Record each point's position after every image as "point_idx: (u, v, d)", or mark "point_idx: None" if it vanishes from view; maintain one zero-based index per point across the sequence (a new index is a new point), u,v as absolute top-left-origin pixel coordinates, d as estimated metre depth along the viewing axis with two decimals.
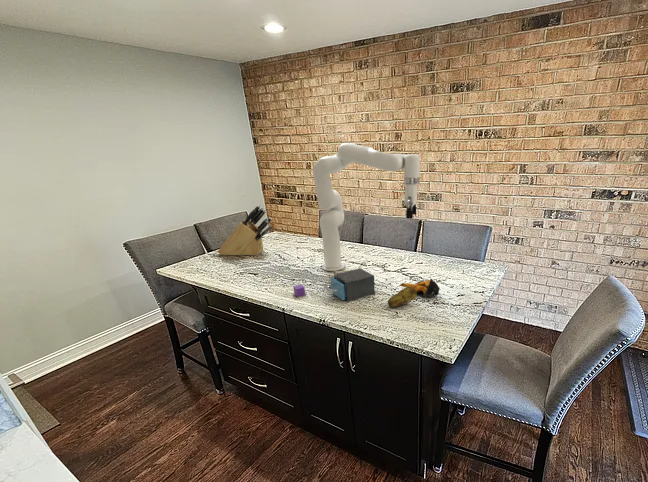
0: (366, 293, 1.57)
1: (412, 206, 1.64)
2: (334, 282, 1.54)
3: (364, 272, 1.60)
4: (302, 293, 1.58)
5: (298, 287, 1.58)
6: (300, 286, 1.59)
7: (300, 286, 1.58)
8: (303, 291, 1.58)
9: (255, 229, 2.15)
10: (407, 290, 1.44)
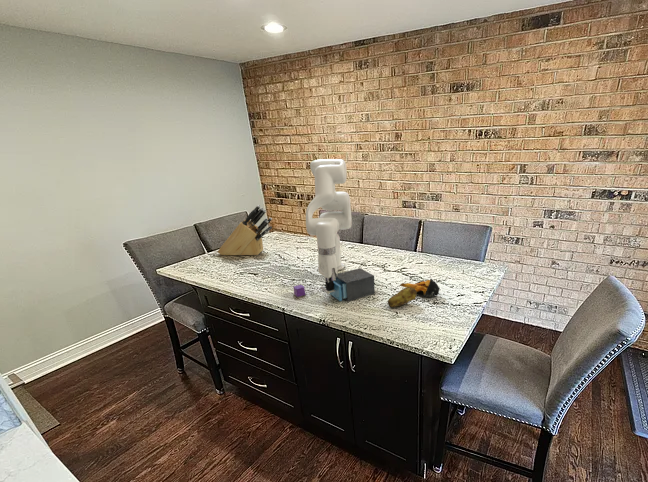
0: (366, 293, 1.57)
1: None
2: None
3: (364, 272, 1.60)
4: (302, 293, 1.58)
5: (298, 287, 1.58)
6: (300, 286, 1.59)
7: (300, 286, 1.58)
8: (303, 291, 1.58)
9: (255, 229, 2.15)
10: (407, 290, 1.44)
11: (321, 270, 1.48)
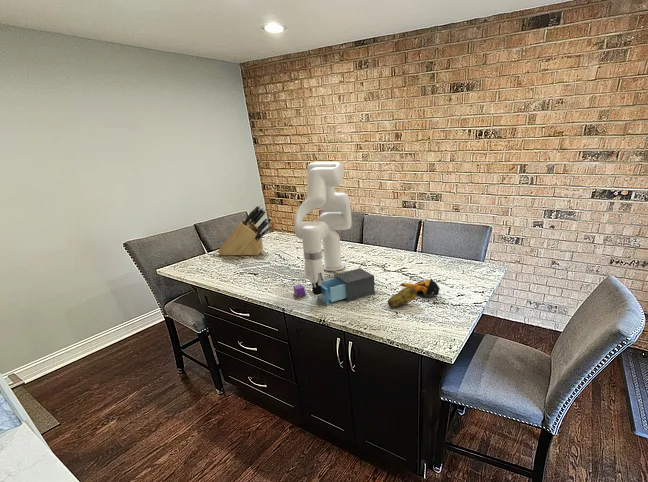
0: (366, 293, 1.57)
1: None
2: None
3: (364, 272, 1.60)
4: (302, 293, 1.58)
5: (298, 287, 1.58)
6: (300, 286, 1.59)
7: (300, 286, 1.58)
8: (303, 291, 1.58)
9: (255, 229, 2.15)
10: (407, 290, 1.44)
11: (308, 275, 1.45)
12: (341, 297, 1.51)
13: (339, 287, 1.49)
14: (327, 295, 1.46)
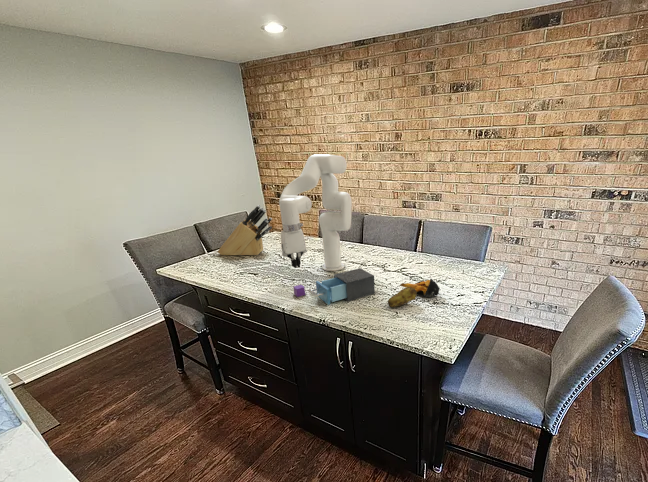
0: (366, 293, 1.57)
1: (292, 255, 1.50)
2: (319, 286, 1.50)
3: (364, 272, 1.60)
4: (302, 293, 1.58)
5: (298, 287, 1.58)
6: (300, 286, 1.59)
7: (300, 286, 1.58)
8: (303, 291, 1.58)
9: (255, 229, 2.15)
10: (407, 290, 1.44)
11: None
12: (342, 297, 1.51)
13: (340, 287, 1.49)
14: (328, 295, 1.46)
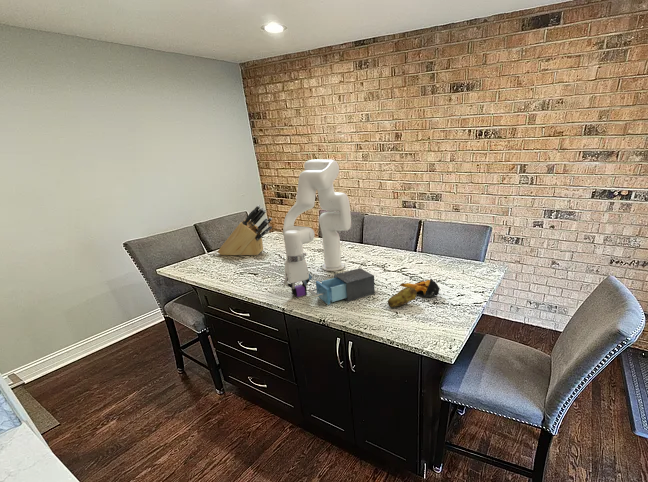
0: (366, 293, 1.57)
1: (294, 284, 1.55)
2: (319, 286, 1.50)
3: (364, 272, 1.60)
4: (302, 293, 1.58)
5: (298, 287, 1.58)
6: (300, 286, 1.59)
7: (300, 286, 1.58)
8: (303, 291, 1.58)
9: (255, 229, 2.15)
10: (407, 290, 1.44)
11: None
12: (342, 297, 1.51)
13: (340, 287, 1.49)
14: (328, 295, 1.46)
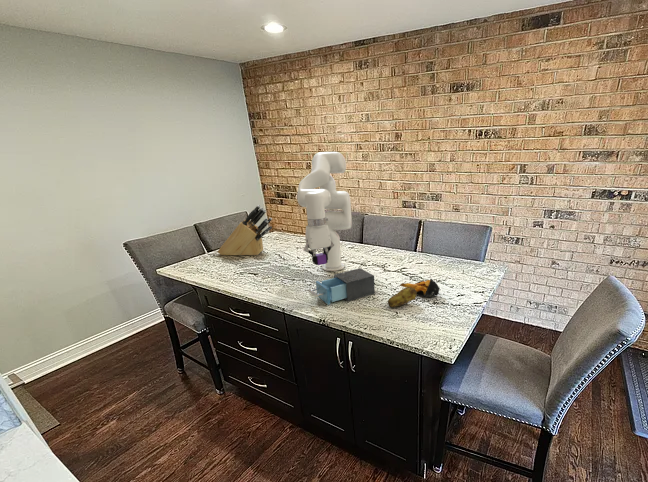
0: (366, 293, 1.57)
1: (315, 251, 1.44)
2: (319, 286, 1.50)
3: (364, 272, 1.60)
4: (323, 261, 1.48)
5: (319, 255, 1.47)
6: (321, 254, 1.48)
7: (321, 254, 1.47)
8: (324, 259, 1.47)
9: (255, 229, 2.15)
10: (407, 290, 1.44)
11: None
12: (342, 297, 1.51)
13: (340, 287, 1.49)
14: (328, 295, 1.46)
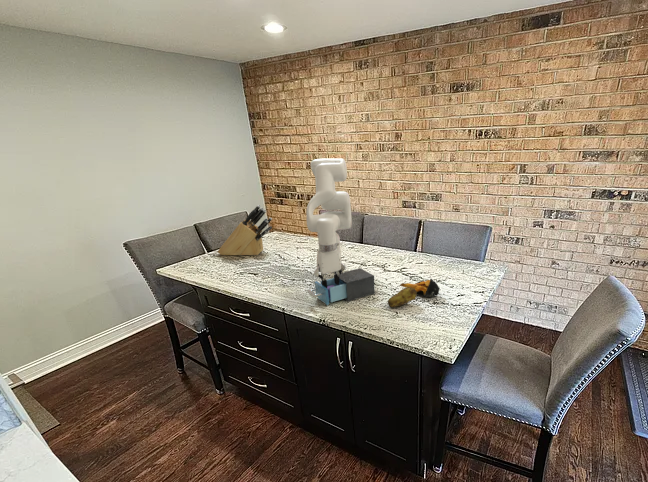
0: (366, 293, 1.57)
1: (325, 275, 1.47)
2: (318, 286, 1.50)
3: (364, 272, 1.60)
4: None
5: None
6: (332, 286, 1.52)
7: None
8: None
9: (255, 229, 2.15)
10: (407, 290, 1.44)
11: None
12: (341, 297, 1.51)
13: (339, 287, 1.49)
14: (327, 295, 1.46)
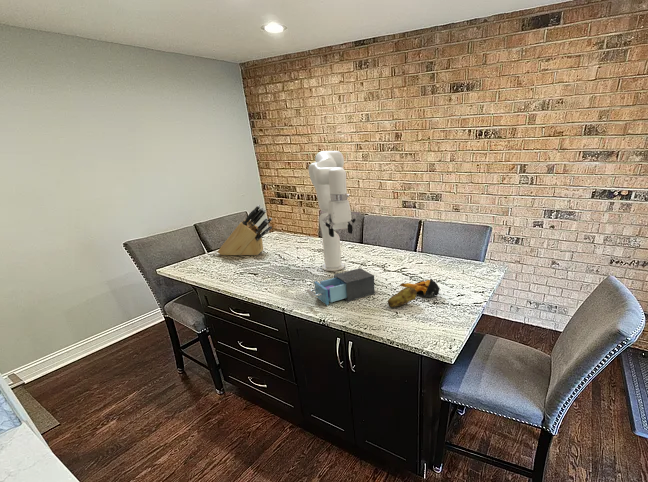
0: (366, 293, 1.57)
1: (333, 224, 1.53)
2: (318, 286, 1.50)
3: (364, 272, 1.60)
4: None
5: None
6: None
7: None
8: None
9: (255, 229, 2.15)
10: (407, 290, 1.44)
11: None
12: (341, 297, 1.51)
13: (339, 287, 1.49)
14: (327, 295, 1.46)
